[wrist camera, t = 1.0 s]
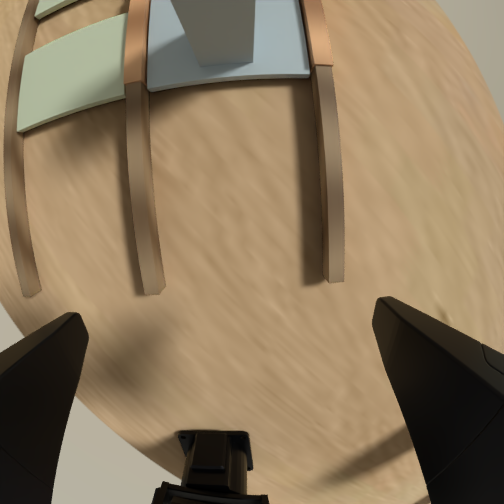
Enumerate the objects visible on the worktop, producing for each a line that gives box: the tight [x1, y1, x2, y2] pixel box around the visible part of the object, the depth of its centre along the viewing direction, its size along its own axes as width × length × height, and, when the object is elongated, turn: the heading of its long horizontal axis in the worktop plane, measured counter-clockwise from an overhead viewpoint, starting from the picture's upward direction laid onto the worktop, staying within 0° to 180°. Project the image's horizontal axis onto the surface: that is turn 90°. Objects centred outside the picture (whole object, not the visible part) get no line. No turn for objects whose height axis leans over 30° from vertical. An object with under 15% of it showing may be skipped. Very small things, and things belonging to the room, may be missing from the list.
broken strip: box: [17, 0, 129, 132], centre depth 12 cm, size 20×10×3 cm, turn 4°
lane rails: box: [4, 0, 345, 297], centre depth 14 cm, size 35×24×2 cm
